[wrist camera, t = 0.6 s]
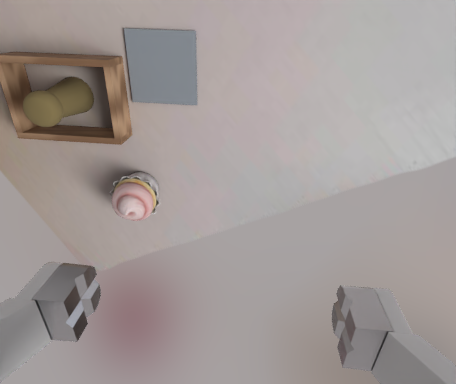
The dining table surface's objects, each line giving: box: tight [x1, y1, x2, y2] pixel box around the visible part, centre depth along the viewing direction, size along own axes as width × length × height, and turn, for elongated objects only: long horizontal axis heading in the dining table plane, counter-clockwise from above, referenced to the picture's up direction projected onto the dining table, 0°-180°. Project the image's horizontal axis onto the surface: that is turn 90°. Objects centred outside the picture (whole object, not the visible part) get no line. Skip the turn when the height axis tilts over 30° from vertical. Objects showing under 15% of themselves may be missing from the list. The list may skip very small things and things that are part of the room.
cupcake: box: [110, 172, 160, 221], centre depth 56 cm, size 9×9×10 cm
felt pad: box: [124, 28, 197, 105], centre depth 49 cm, size 11×11×1 cm
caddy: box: [0, 52, 132, 145], centre depth 51 cm, size 13×18×5 cm
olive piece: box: [23, 77, 94, 127], centre depth 48 cm, size 6×6×11 cm
